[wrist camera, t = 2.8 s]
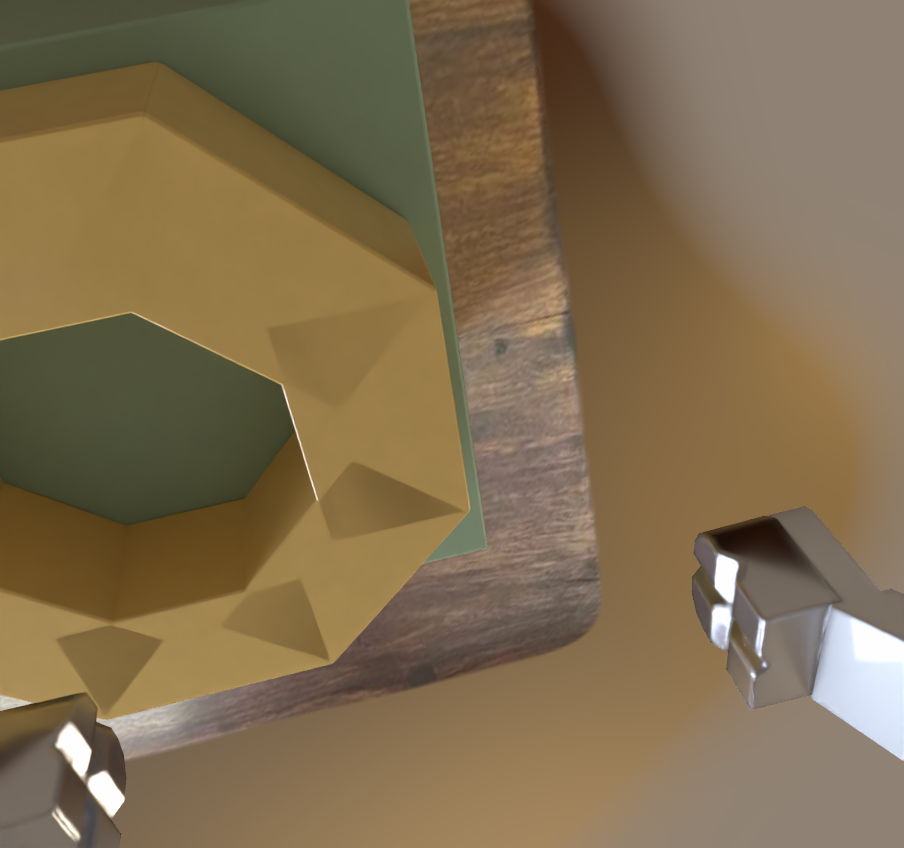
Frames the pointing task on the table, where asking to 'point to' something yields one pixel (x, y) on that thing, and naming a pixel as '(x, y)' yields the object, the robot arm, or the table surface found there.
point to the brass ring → (244, 342)
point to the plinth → (167, 354)
